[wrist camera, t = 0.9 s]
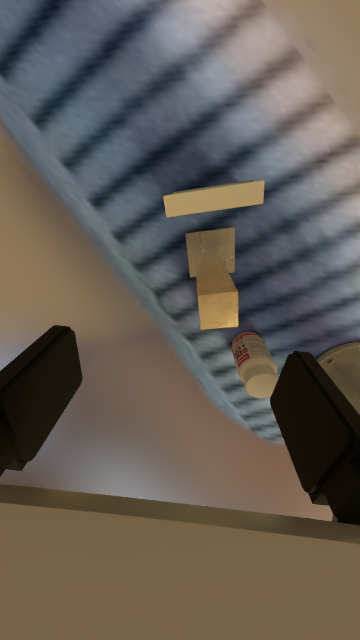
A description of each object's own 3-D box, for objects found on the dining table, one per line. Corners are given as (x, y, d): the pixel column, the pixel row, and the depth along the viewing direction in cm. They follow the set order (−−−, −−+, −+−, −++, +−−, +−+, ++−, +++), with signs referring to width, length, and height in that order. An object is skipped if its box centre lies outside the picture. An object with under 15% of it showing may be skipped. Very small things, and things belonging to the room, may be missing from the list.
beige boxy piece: (234, 299, 29) (245, 325, 23) (193, 303, 29) (193, 330, 23) (233, 226, 24) (247, 234, 18) (185, 233, 25) (183, 242, 19)
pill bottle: (234, 329, 31) (247, 368, 24) (266, 332, 31) (290, 373, 24) (228, 355, 33) (238, 398, 26) (258, 358, 33) (277, 402, 26)
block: (244, 203, 23) (263, 203, 17) (172, 214, 24) (166, 217, 18) (244, 184, 23) (264, 177, 16) (170, 196, 23) (162, 193, 17)
